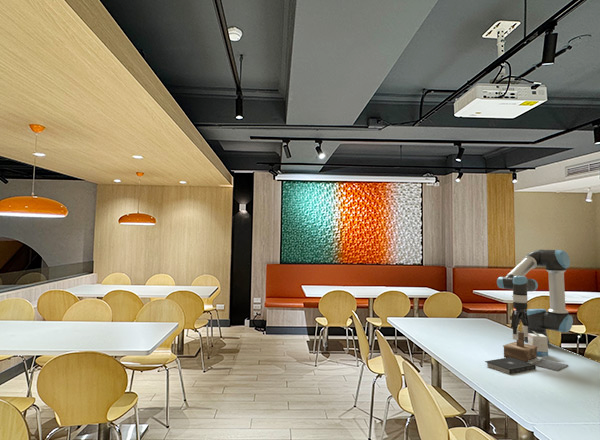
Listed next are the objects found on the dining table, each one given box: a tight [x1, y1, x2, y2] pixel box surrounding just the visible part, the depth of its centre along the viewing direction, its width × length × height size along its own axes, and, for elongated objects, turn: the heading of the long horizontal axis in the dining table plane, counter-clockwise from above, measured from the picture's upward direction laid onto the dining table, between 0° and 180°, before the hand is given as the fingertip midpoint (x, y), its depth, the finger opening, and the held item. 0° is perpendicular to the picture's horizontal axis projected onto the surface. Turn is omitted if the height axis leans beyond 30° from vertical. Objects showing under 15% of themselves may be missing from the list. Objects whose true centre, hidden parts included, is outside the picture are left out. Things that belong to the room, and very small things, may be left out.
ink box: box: [527, 331, 549, 357], centre depth 235 cm, size 9×8×13 cm
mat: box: [531, 358, 569, 372], centre depth 212 cm, size 16×13×1 cm
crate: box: [503, 347, 538, 363], centre depth 226 cm, size 16×12×6 cm
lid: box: [502, 330, 538, 352], centre depth 227 cm, size 17×13×10 cm
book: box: [484, 357, 537, 375], centre depth 206 cm, size 22×15×3 cm
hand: (520, 338), depth 227 cm, fingers open, 13 cm apart
